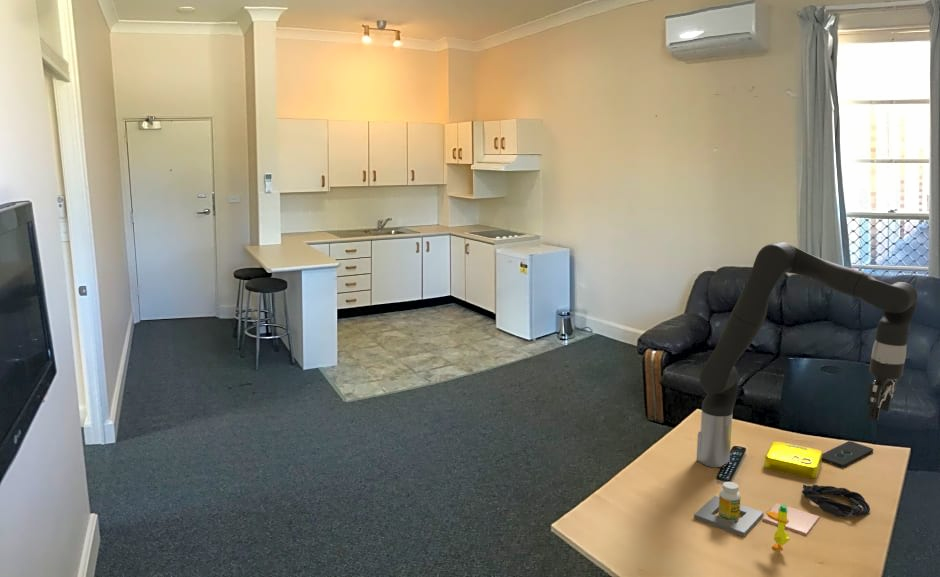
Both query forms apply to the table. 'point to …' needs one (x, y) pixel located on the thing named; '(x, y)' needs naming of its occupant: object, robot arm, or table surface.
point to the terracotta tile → (795, 519)
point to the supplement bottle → (729, 502)
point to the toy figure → (780, 526)
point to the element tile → (793, 460)
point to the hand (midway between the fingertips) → (878, 414)
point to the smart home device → (846, 454)
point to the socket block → (739, 528)
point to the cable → (833, 506)
